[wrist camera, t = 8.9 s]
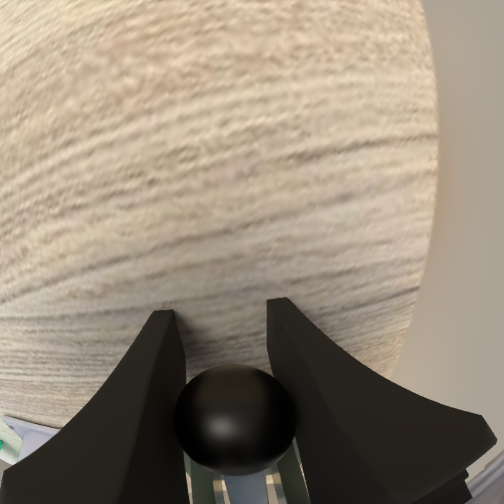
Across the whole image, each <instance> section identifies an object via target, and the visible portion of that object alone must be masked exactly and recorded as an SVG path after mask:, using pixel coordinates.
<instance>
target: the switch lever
mask: <svg viewBox="0 0 504 504" xmlns="http://www.w3.org/2000/svg"><path fill="white" fill-rule="evenodd" d="M173 419H174V429H175V434H176V436H177V439H178V441H179V444H180V445H181V447H182V449H183V450H184V451H185V453H186V454H187V455H188V456H189V457H190V458H191V459H192V460H193V461H194V462H195V463H196V464H198V465H199V466H201V467H202V468H204V469H206V470H208V471H211V472H213V473H216V474H219V475H223V477H224V481H225V485H226V488H227V492H228V495H229V499H230V502H231V504H269V500H268V492H267V484H266V476H265V470H266V469H268V468H269V467H271V466H273V465H274V464H275V463H277V462H278V461H279V460H280V459H281V458H282V457H283V456H284V455H285V453H286V452H287V451H288V449H289V447H290V446H291V444H292V441H293V439H294V436H295V432H296V424H297V419H296V410H295V407H294V404H293V401H292V399H291V397H290V395H289V393H288V392H287V391H286V389H285V388H284V387H283V385H282V384H281V383H280V382H279V381H278V380H276V379H275V378H274V377H272V376H271V375H270V374H268V373H266V372H264V371H262V370H260V369H257V368H254V367H251V366H247V365H239V364H228V365H221V366H217V367H213V368H211V369H208V370H206V371H204V372H202V373H200V374H199V375H197V376H196V377H195V378H193V379H192V380H191V381H190V382H189V383H188V384H187V385H186V386H185V388H184V389H183V390H182V392H181V393H180V395H179V397H178V400H177V402H176V405H175V409H174V417H173Z"/></svg>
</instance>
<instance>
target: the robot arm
mask: <svg viewBox="0 0 504 504" xmlns="http://www.w3.org/2000/svg"><path fill="white" fill-rule="evenodd" d="M267 351H268V356H269V360H270V365H271V369H272V372H273V375H274V378H275V379H276V380H278V381H279V382H280V383H281V384H282V385H283V387H284V388H285V389H286V391H287V392H288V393H289V395H290V397H291V399H292V401H293V404H294V407H295V410H296V419H297V424H296V432H295V439H296V443H297V447H298V451H299V455H300V459H301V463H302V467H303V472H304V476H305V480H306V485H307V489H308V494H309V499H310V503H311V504H504V450H503V451H501V452H500V453H499V454H498V455H497V456H496V457H495V458H494V459H493V460H491V461H490V462H489V463H488V464H487V465H486V466H485V469H484V470H482V471H481V472H480V473H479V474H478V475H476V476H475V477H474V478H472V479H471V480H470V481H469V482H467V483H465V481H464V480H465V479H466V478H467V477H468V475H469V474H468V472H467V470H466V468H467V467H468V466H469V465H471V464H472V463H474V462H475V461H476V460H477V459H479V458H480V457H481V456H482V455H484V454H485V453H486V452H487V451H488V450H489V449H491V448H492V447H493V446H494V445H495V444H496V442H497V438H496V437H495V435H494V433H493V432H492V430H491V429H490V427H489V426H488V424H487V422H486V421H485V420H484V418H483V417H482V415H478V414H474V413H470V412H467V411H463V410H459V409H456V408H452V407H449V406H446V405H443V404H440V403H438V402H435V401H432V400H430V399H427V398H425V397H422V396H420V395H418V394H416V393H413V392H411V391H409V390H407V389H405V388H403V387H401V386H399V385H397V384H395V383H393V382H391V381H390V380H388V379H386V378H384V377H383V376H381V375H379V374H378V373H376V372H375V371H373V370H371V369H370V368H368V367H367V366H365V365H364V364H362V363H361V362H359V361H358V360H356V359H355V358H354V357H352V356H351V355H350V354H348V353H347V352H346V351H345V350H343V349H342V348H341V347H340V346H338V345H337V344H336V343H335V342H333V341H332V340H331V339H330V338H329V337H328V336H327V335H325V334H324V333H323V332H322V331H321V330H320V329H319V328H318V327H316V326H315V325H314V324H313V323H312V322H311V321H310V320H309V319H308V318H307V317H306V316H305V315H304V314H303V313H302V312H301V311H300V310H299V309H298V308H297V307H296V306H295V305H294V304H293V303H292V302H291V301H290V300H289V299H288V298H287V297H284V298H277V299H269V300H267ZM185 386H186V359H185V353H184V350H183V346H182V342H181V339H180V335H179V331H178V327H177V323H176V319H175V315H174V311H173V309H172V310H159V311H153V313H152V314H151V315H150V317H149V318H148V320H147V322H146V323H145V325H144V326H143V328H142V330H141V331H140V333H139V334H138V336H137V337H136V339H135V341H134V342H133V343H132V345H131V346H130V348H129V349H128V351H127V352H126V354H125V355H124V357H123V358H122V360H121V361H120V363H119V364H118V365H117V367H116V368H115V369H114V371H113V372H112V373H111V375H110V376H109V377H108V379H107V380H106V381H105V383H104V384H103V385H102V386H101V388H100V389H99V390H98V391H97V393H96V394H95V395H94V396H93V397H92V398H91V399H90V401H89V402H88V403H87V404H86V405H85V406H84V407H83V408H82V409H81V410H80V411H79V412H78V413H77V414H76V415H75V416H74V417H73V418H72V419H71V420H70V421H69V422H68V423H67V424H66V425H65V426H64V427H63V428H62V429H61V430H60V429H55V428H50V427H46V426H42V425H37V424H33V423H30V422H26V421H22V420H19V419H15V418H12V417H9V416H5V415H4V416H3V419H2V420H3V422H4V423H5V424H6V425H7V426H8V427H9V428H10V429H11V430H13V431H14V432H15V433H16V434H17V435H18V436H19V437H20V438H21V439H22V440H23V442H22V446H21V450H20V454H19V458H18V462H17V463H16V464H14V465H13V466H11V467H10V468H8V469H6V470H4V473H3V477H2V483H1V488H0V504H190V501H189V495H188V487H187V480H186V472H185V461H184V450H183V449H182V447H181V445H180V444H179V441H178V439H177V436H176V434H175V429H174V419H173V417H174V409H175V405H176V402H177V400H178V397H179V395H180V393H181V392H182V390H183V389H184V388H185Z"/></svg>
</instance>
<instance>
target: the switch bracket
mask: <svg viewBox="0 0 504 504" xmlns="http://www.w3.org/2000/svg"><path fill="white" fill-rule="evenodd" d="M184 461H185V471H186V472H187V474H188V475H189V476H190V477H191V486H192V498H193V504H225V502H224V496H223V488H222V480H224V477H223V475H219V474H216V473H213V472H211V471H208V470H206V469H204V468H202V467H201V466H199V465H198V464H196V463H195V462H194V461H193V460H192V459H191V458H190V457H189V456H188V455H187V454H186V453H185V451H184ZM300 464H301V459H300V455H299V451H298V447H297V443H296V439H295V436H294V439H293V441H292V444H291V446H290V447H289V449H288V451H287V452H286V453H285V455H284V456H283V457H282V458H281V459H280V460H279V461H278V462H277V463H275V464H274V465H273V466H271V467H269V468H268V469H266V470H265V475H271V474H272V478H273V482H274V486H275V491H276V494H277V498H278V503H279V504H311V503H310V499H309V496H308V492H307V489H306V486H305V482H304V479H303V475H302V472H301V468H300Z"/></svg>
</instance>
